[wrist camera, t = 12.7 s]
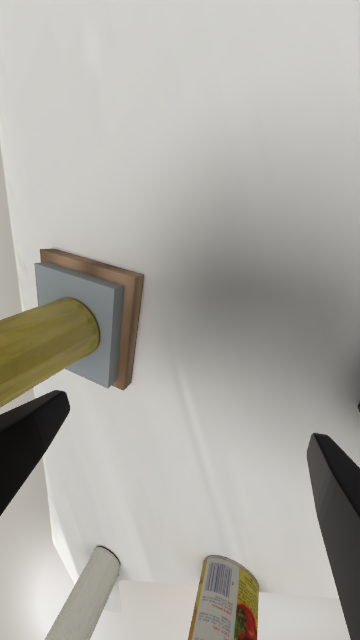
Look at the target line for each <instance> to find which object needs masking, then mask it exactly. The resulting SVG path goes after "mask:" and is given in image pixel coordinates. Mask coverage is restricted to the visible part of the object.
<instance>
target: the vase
mask: <svg viewBox="0 0 360 640" xmlns="http://www.w3.org/2000/svg"><path fill="white" fill-rule="evenodd" d="M98 343H99V329H98V326H97V323H96V320H95V318H94V316H93V315H92V313H91V312H90V311H89V310H88V309H87V308H86V307H85V306H84V305H83V304H82V303H80V302H79V301H77V300H74V299H71V298H59V299H57V300H55V301H53V302H50V303H48V304H45V305H42V306H39V307H36V308H33V309H30V310H27V311H25V312H22V313H19V314H16V315H13V316H11V317H8V318H5V319H2V320H0V407H2V406H4V405H5V404H7V403H9V402H10V401H12V400H14V399H15V398H17V397H19V396H20V395H22V394H23V393H25V392H26V391H28V390H29V389H31V388H33V387H34V386H36V385H38V384H39V383H41V382H43V381H45V380H46V379H48V378H49V377H51V376H53V375H54V374H56V373H58V372H59V371H61V370H62V369H64V368H66V367H68V366H69V365H71V364H73V363H74V362H76V361H78V360H80V359H82V358H84V357H86V356H88V355H90V354H91V353H93V352H94V351H95V350H96V348H97V346H98Z"/></svg>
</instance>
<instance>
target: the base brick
mask: <svg viewBox="0 0 360 640" xmlns="http://www.w3.org/2000/svg"><path fill="white" fill-rule="evenodd" d="M40 256H41V263H42V262H51V263H54V264H57V265H60V266H63V267H67V268H70V269H73V270H76V271H79V272H83V273H86V274H89V275H92V276H95V277H99V278H102V279H105V280H108V281H111V282H114V283H118V284H121V285H124V298H123V310H122V322H121V334H120V346H119V358H118V370H117V380H116V381H115V382H114V383H113V384H112V386H115V387H117V388H119V389H121V390H123V391H124V390H125V389H126V388H127V386H128V385H129V384H130V383H131V378H132V369H133V361H134V353H135V344H136V336H137V327H138V319H139V310H140V302H141V294H142V285H143V277H144V275H142V274H138V273H135V272H131V271H128V270H125V269H121V268H118V267H114V266H111V265H107V264H104V263H100V262H97V261H94V260H90V259H87V258H83V257H80V256H76V255H73V254H70V253H66V252H63V251H59V250H56V249H40Z"/></svg>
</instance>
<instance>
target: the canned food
mask: <svg viewBox="0 0 360 640" xmlns="http://www.w3.org/2000/svg"><path fill="white" fill-rule="evenodd" d="M258 591H259V586H258V583H257V581H256V579H255V578H254V577H253V575H252V574H251V573H250V572H249V571H248V570H247V569H245V568H244V567H243V566H241V565H240V564H238V563H236V562H234V561H233V560H230V559H228V558H225V557H221V556H214V555H213V556H208V557H207V558H205V560H204V563H203V568H202V573H201V578H200V582H199V588H198V592H197V597H196V602H195V607H194V613H193V618H192V622H191V627H190V632H189V638H188V640H257V623H258Z"/></svg>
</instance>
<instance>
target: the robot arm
mask: <svg viewBox="0 0 360 640" xmlns="http://www.w3.org/2000/svg"><path fill="white" fill-rule="evenodd" d="M358 410H359V412H360V404H359V405H358ZM69 411H70V405H69V401H68V398H67V394H66V393H65V392H64V391H59V390H54V391H52V392H50V393H47V394H45V395H43V396H41V397H39V398H36V399H34V400H32V401H30V402H28V403H25V404H23V405H21V406H19V407H16V408H14V409H12V410H10V411H8V412H5V413H3V414H1V415H0V516H1V514H2V513H3V511H4V510H5V509H6V507H7V506H8V504H9V503H10V502H11V500H12V499H13V497H14V496H15V495H16V493H17V492H18V490H19V489H20V487H21V486H22V485H23V483H24V482H25V480H26V479H27V477H28V476H29V475H30V473H31V472H32V470H33V469H34V468H35V466H36V465H37V463H38V462H39V461H40V459H41V458H42V456H43V455H44V453H45V452H46V450H47V449H48V447H49V446H50V444H51V442H52V441H53V439H54V437H55V436H56V434H57V432H58V431H59V429H60V427H61V425H62V424H63V422H64V420H65V419H66V417H67V415H68V414H69ZM307 461H308V467H309V472H310V478H311V484H312V490H313V496H314V501H315V507H316V512H317V517H318V521H319V525H320V529H321V533H322V536H323V540H324V544H325V547H326V551H327V555H328V558H329V562H330V566H331V569H332V573H333V577H334V580H335V584H336V588H337V591H338V595H339V599H340V602H341V606H342V609H343V613H344V617H345V620H346V624H347V628H348V631H349V635H350V638H351V640H360V468H359V467H358V466H357V465H356V464H355V463H354V462H353V461H352V460H351V459H350V458H349V457H348V455H347V454H346V453H345V452H344V451H343V450H342V449H341V448H340V447H339V446H338V445H337V444H336V443H335V442H334V441H333V440H332V439H331V438H330V437H329V436H328V435H324V434H318V433H313V434H312V435H311V438H310V442H309V446H308V449H307Z"/></svg>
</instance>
